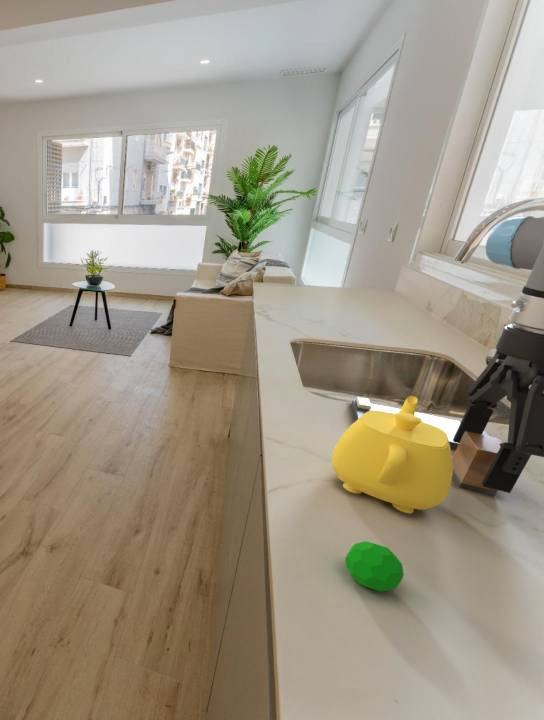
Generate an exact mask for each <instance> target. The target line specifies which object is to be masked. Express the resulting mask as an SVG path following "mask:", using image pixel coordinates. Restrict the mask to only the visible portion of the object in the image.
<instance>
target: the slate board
mask: <svg viewBox="0 0 544 720" xmlns="http://www.w3.org/2000/svg"><path fill="white" fill-rule="evenodd" d="M370 404H371V409H370V410H368V409H363V408H358V405H357V401H356V399H352V401H351V404H350V406H351V410H352V414H353V418H354V422H355V421H357V420H358V419H359V418H360V417H361V416H362V415H364V414H365V413H366V412H368V411H372V410H375V411H383V412H388V413H393V414H395V413H397V412H399V411H400V410H401V408H398V407H397V408H396V407H392V406H386V405H382V404H377V403H372V402H370ZM415 416H417V417H418V418H419V417H424V418H429V419H433V420H434V422H435V423H436V425H437V426H438V428H440V429H442V430H443V431H444V432H445V433H446V434H447V436H448V440H449V444H450V449H451V450H454V451H456V449H457V447H458V445H459V443H458V442H454V441H453V438H454V436H455V434H456V432H457V430H458V428H459V426H460V423H461V421H462V420H456V419H451V418H446V417H441V416H436V415H433V414H432V415H431V414H427V413H421V412H416V411H415ZM482 435H486V436H490V435H489V434H488V432H487V431H486V429H484V431H483V433H482Z"/></svg>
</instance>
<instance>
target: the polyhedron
mask: <svg viewBox="0 0 544 720" xmlns="http://www.w3.org/2000/svg"><path fill="white" fill-rule="evenodd" d="M344 560H345V566H346V569H347V571H348V572H349V574H350V576H351V577H352V578H353V580H355V582H357V583H358V584H359V585H361V586H364V587H367V588H368V589H372V590H374V591H377V592H387V591H392V590H394V589H396V588H397V587H398V586H399V585H400V583H401V582H402V581H403V578H404V575H405V574H404V567H403V563H402V562H401V560H400V559H399V558H398V556H396V554H395V553H394V552H393V551H392V550H391V549H390V548H389V547H387V546H383V545H380V544H377V543H374V542H370V541H367V540H365V541H360V542H357V543H354V545H353V546H352V547H351V548H350V549H349V551H348V552H347V554H346V556H345V558H344Z"/></svg>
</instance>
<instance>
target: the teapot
mask: <svg viewBox="0 0 544 720" xmlns="http://www.w3.org/2000/svg"><path fill="white" fill-rule="evenodd" d="M418 399H419V398H417V396H415V395H409V396H407V398H406V399H405V401H404V402H403V404H402V406H401V408H400V409H401V410H400V411H399V412H397V413H395V414H393V413H388V412H383V411H375V410H372V411H368V412H366V413H365V414H364V415H362V416H361V417H360V418H359V419H358V420H357V421H355V420H354V422H353V423H351V425H350V426H349V427H348V428H347V429H346V430H345V431H344V432H343V434H341V437H340V438H339V439H338V441H337V443H336V445H335V446H334V448H333V452H332V453H331V466H332V468H333V471H334V474H335V475H336V477H337V478H338V479H339V480H340V481H342V482H343V484H342V487H343V488H344V490H346V491H348V492H350V493H353V494H356V495H357V494H362V493H363V494H366V495H369V496H371V497H373V498H375V499H378V500H382V501H384V502H387V503H391V505H392V506H393V508H394V509H396V510H398V511H399V512H402V513H405V514H413V513H414V512H415V510H420V511H421V510H428V509H432V508H434V507H436V506H438V505H440V504H442V503H443V502H444V501H445V499H446V498H447V497H448V494H449V491H450V488H451V485H452V480H453V475H452V474H453V463H452V457H453V456H452V455H453V454H452V449H450V444H449V440H448V436H447V434H446V433H445V432H444V431H443V430H442V429H440V428H438V427H436V426H433V425H431V424H428V423H425V422H422V421H421V419H420V418H418V417H417V416H415V412H416V410H417V406H418V402H419V400H418Z"/></svg>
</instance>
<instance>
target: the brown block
mask: <svg viewBox="0 0 544 720" xmlns="http://www.w3.org/2000/svg"><path fill="white" fill-rule="evenodd" d="M501 443H504V442H503V441H502V439H501V438H500V437H495V436H491V435H489V436H486V435H482V434H477V433H472V432H467V431H465V432H464V434H463V436H462V438H461V440H460V443H459V445H458V447H457V449H456V450H454V453H453V454H452V455H453V456H452V463H453V474H452V478H453V480H454V481H455V483H456V485H457V486H458V488H461V489H465V490H468V491H472V492H475V493H480V494H483V495H488V496H492V497H495V496H496V495H497V493H498V491H499V490H495V489H491V488H487V487H483V485H482V482H483V480H484V478H485V476H486V474H487V472H488V470H489V468H490V467H491V465H492V463H493V461H494V459H495V457H496V455H497V453H498V451H499V449H500V444H501Z"/></svg>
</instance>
